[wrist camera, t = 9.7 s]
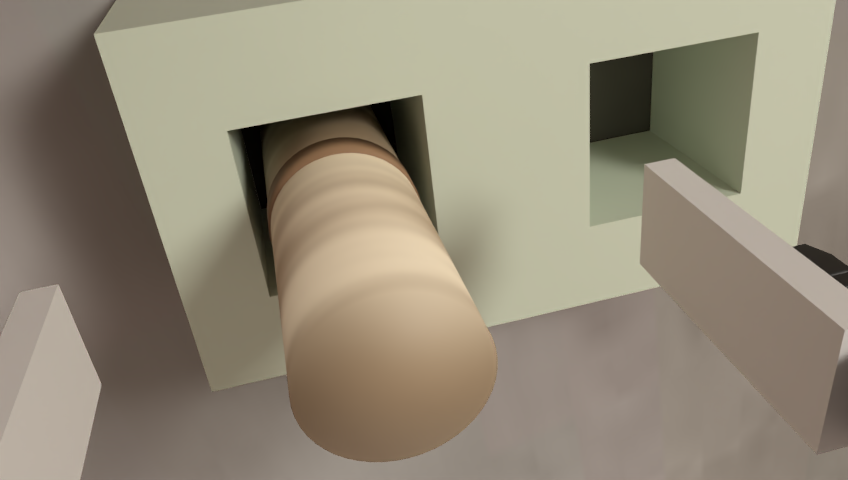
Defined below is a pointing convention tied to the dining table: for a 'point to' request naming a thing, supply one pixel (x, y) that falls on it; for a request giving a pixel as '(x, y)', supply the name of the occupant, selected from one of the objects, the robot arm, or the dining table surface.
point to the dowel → (367, 294)
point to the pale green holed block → (458, 134)
